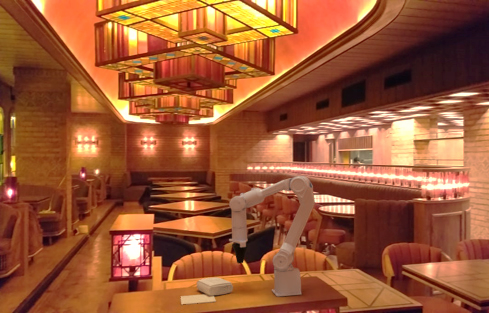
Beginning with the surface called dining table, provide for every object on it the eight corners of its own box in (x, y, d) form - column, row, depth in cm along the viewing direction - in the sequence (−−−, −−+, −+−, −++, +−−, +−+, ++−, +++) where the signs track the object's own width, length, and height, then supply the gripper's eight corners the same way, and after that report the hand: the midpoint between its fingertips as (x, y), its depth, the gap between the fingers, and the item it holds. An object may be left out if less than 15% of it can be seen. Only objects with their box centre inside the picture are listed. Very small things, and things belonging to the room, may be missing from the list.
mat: (213, 294, 153) (212, 293, 153) (215, 301, 145) (215, 301, 145) (180, 297, 151) (180, 296, 151) (181, 304, 142) (181, 304, 142)
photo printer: (233, 293, 155) (217, 286, 165) (233, 281, 155) (217, 275, 165) (209, 297, 149) (194, 289, 159) (209, 285, 149) (194, 278, 160)
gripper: (226, 225, 165) (227, 259, 165) (232, 230, 151) (232, 267, 150) (243, 224, 166) (244, 258, 166) (250, 229, 152) (251, 266, 152)
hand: (240, 262), depth 158 cm, fingers closed
